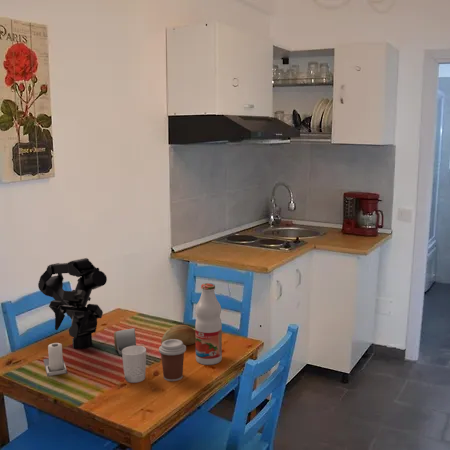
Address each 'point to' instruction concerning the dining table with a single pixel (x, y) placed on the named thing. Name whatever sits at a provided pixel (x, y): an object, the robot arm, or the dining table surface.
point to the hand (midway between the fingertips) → (67, 331)
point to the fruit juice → (208, 327)
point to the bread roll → (180, 334)
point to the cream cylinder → (55, 357)
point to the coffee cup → (172, 359)
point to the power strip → (46, 363)
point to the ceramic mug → (124, 339)
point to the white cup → (134, 363)
